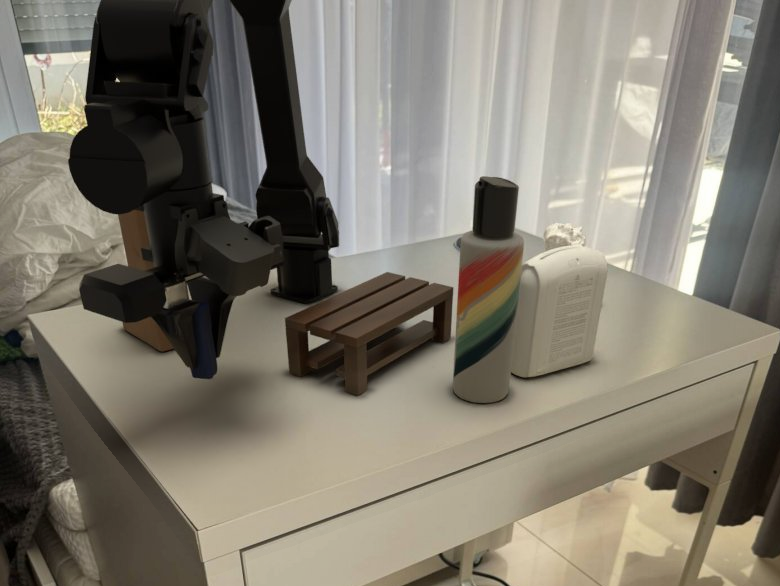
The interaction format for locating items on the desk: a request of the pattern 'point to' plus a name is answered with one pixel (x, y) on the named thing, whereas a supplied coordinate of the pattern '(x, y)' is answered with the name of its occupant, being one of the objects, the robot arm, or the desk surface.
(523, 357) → the photo printer
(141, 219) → the wooden block
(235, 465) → the desk surface
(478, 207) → the lotion bottle
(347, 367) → the rack
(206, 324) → the eraser
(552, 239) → the bust
